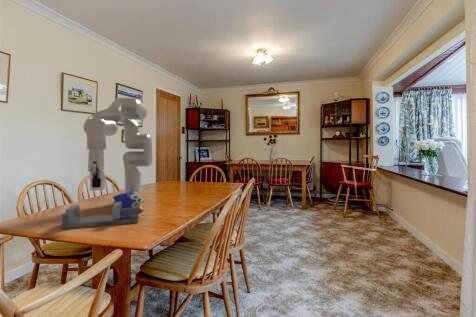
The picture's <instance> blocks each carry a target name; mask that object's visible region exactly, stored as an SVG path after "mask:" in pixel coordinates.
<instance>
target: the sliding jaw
mask: <svg viewBox="0 0 476 317" xmlns="http://www.w3.org/2000/svg"><path fill="white" fill-rule="evenodd" d="M143 212H144V209H143V207H140V206H139V207H137V208H123V209H122V202H115V203H114V204H113V205H112V215H113V219H120V218H121V216H122V215H126V214H139V215H140V214H143Z"/></svg>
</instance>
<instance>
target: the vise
mask: <svg viewBox="0 0 476 317" xmlns="http://www.w3.org/2000/svg"><path fill="white" fill-rule="evenodd" d="M80 213H81V211H80V204H75V205H74V204H73V205H70V206H69V207H68V208H67V209H65V212H64V213H62V214H61V229H62V230H67V229H80V228H89V227H90V228H91V227H92V228H93V227H102V226H103V227H105V226H116V225H127V224H128V225H129V224H138V223H139V219H140V213H139V214H126V215H122V216H121V218H120V219H113V214H111V215H110V214H109V215H97V216H83V217H81V214H80Z"/></svg>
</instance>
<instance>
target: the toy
mask: <svg viewBox="0 0 476 317" xmlns="http://www.w3.org/2000/svg"><path fill="white" fill-rule="evenodd" d="M141 198H142V196H141V197H140V195H139V194H138V193H137V192H127V193H125V192H123V193H118V194H116V195H114V196H113V200H114V201H113V205H114V203H115V202H122V209H123V208H137V207H140V206H141V204H142V202H141Z"/></svg>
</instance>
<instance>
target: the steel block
mask: <svg viewBox="0 0 476 317" xmlns="http://www.w3.org/2000/svg"><path fill="white" fill-rule="evenodd" d="M89 190H90V192H91V191H103V190H105V171H104V170H102V171H100V187H99V188H93V187H92V172H89Z"/></svg>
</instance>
